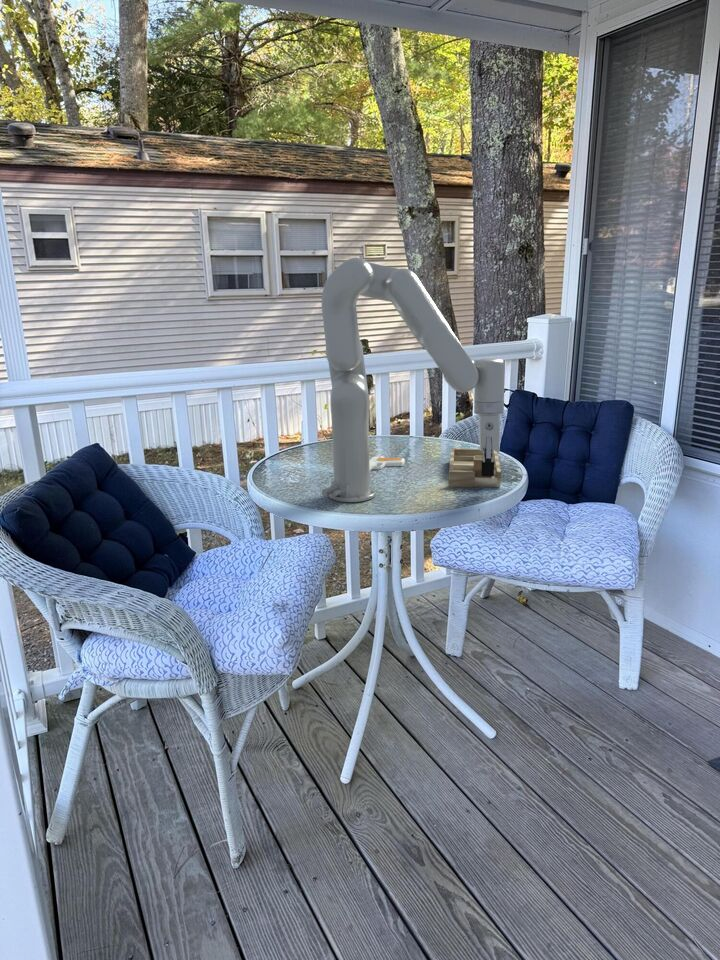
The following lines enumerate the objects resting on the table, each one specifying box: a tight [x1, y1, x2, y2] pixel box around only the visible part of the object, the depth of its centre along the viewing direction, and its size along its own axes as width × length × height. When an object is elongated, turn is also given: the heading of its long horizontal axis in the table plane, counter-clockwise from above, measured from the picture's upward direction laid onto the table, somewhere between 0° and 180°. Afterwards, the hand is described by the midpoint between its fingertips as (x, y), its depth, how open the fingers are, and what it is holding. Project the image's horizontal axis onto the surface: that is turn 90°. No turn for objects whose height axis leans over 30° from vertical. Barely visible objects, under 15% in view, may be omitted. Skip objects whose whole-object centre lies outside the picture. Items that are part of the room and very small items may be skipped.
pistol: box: [369, 455, 406, 472], centre depth 194 cm, size 2×20×11 cm
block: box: [473, 455, 492, 478], centre depth 177 cm, size 5×5×5 cm
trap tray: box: [448, 448, 502, 488], centre depth 187 cm, size 26×14×4 cm, turn 171°
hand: (487, 475), depth 169 cm, fingers closed
